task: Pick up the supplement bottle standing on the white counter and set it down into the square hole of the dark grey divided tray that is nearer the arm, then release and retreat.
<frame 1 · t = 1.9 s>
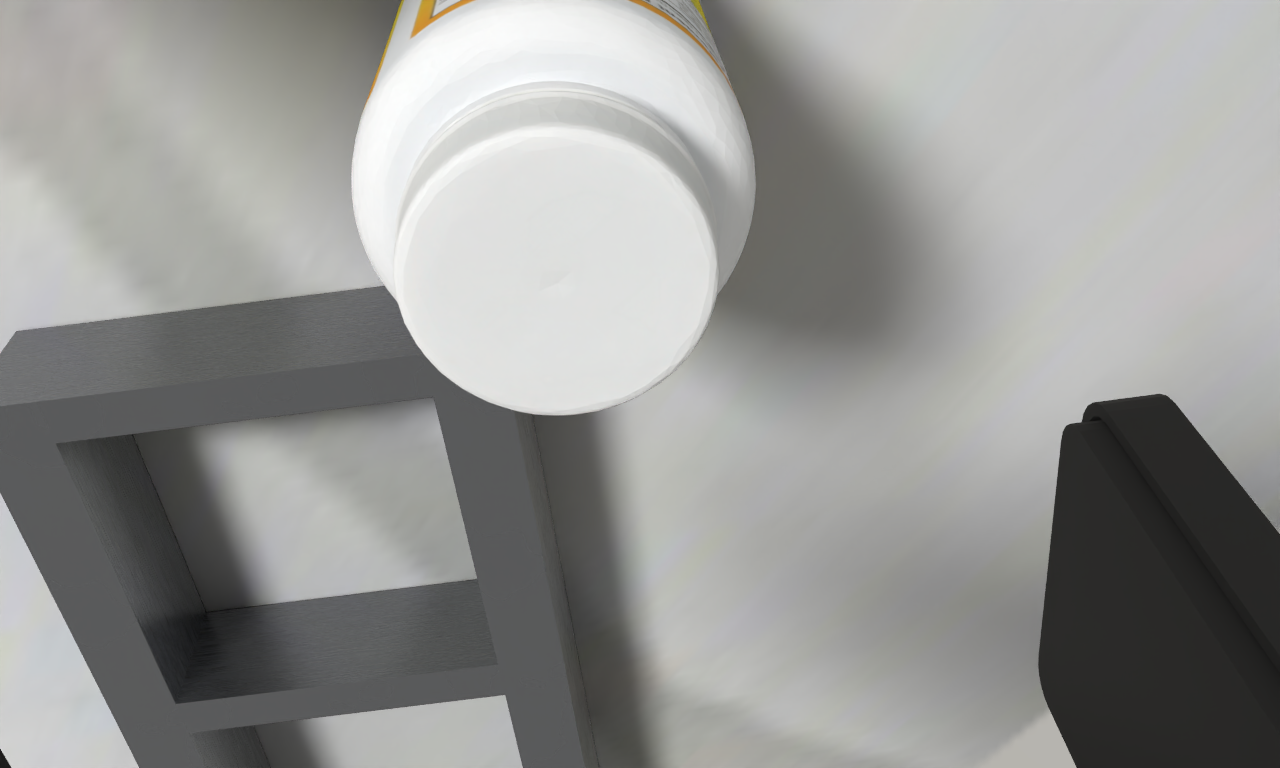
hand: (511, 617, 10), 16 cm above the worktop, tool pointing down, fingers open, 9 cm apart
supplement bottle: (553, 24, 23), on the worktop
dark grey divided tray: (358, 608, 31), on the worktop
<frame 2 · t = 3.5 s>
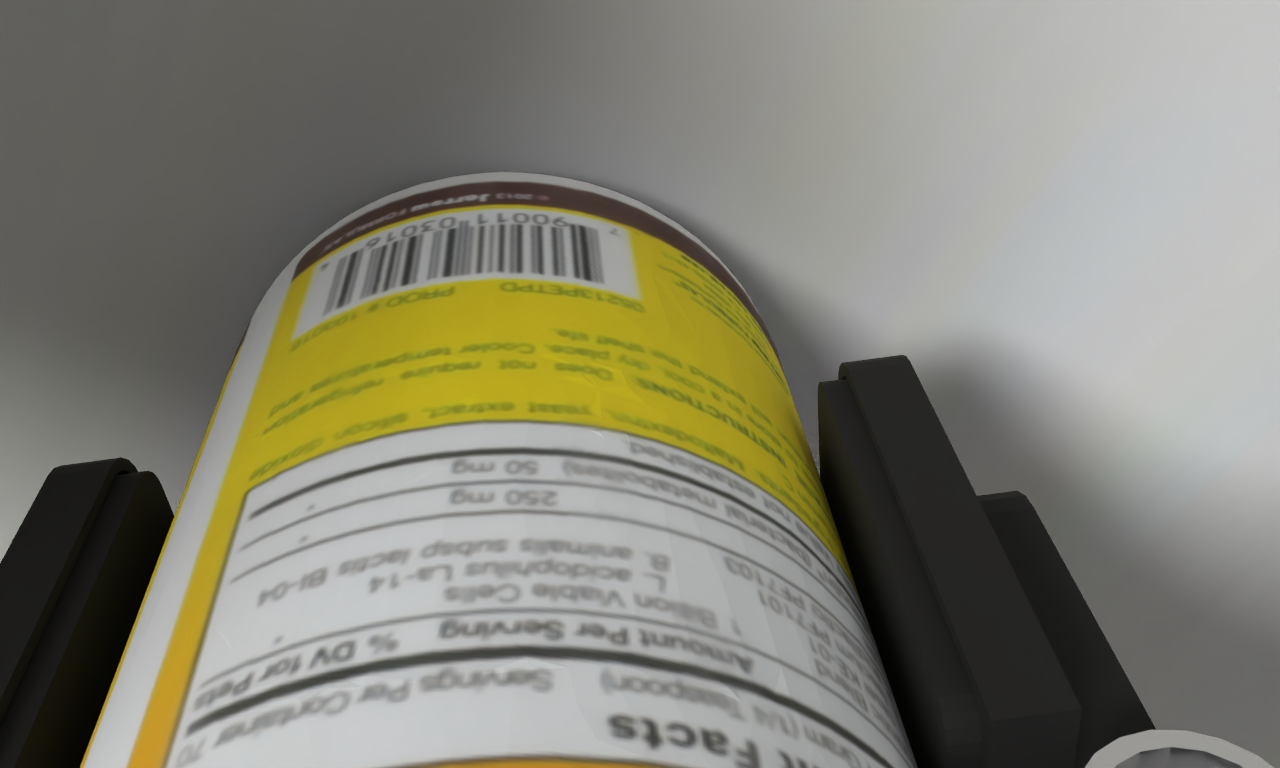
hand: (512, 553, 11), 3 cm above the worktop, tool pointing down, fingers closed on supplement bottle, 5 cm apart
supplement bottle: (516, 383, 13), on the worktop, touching gripper
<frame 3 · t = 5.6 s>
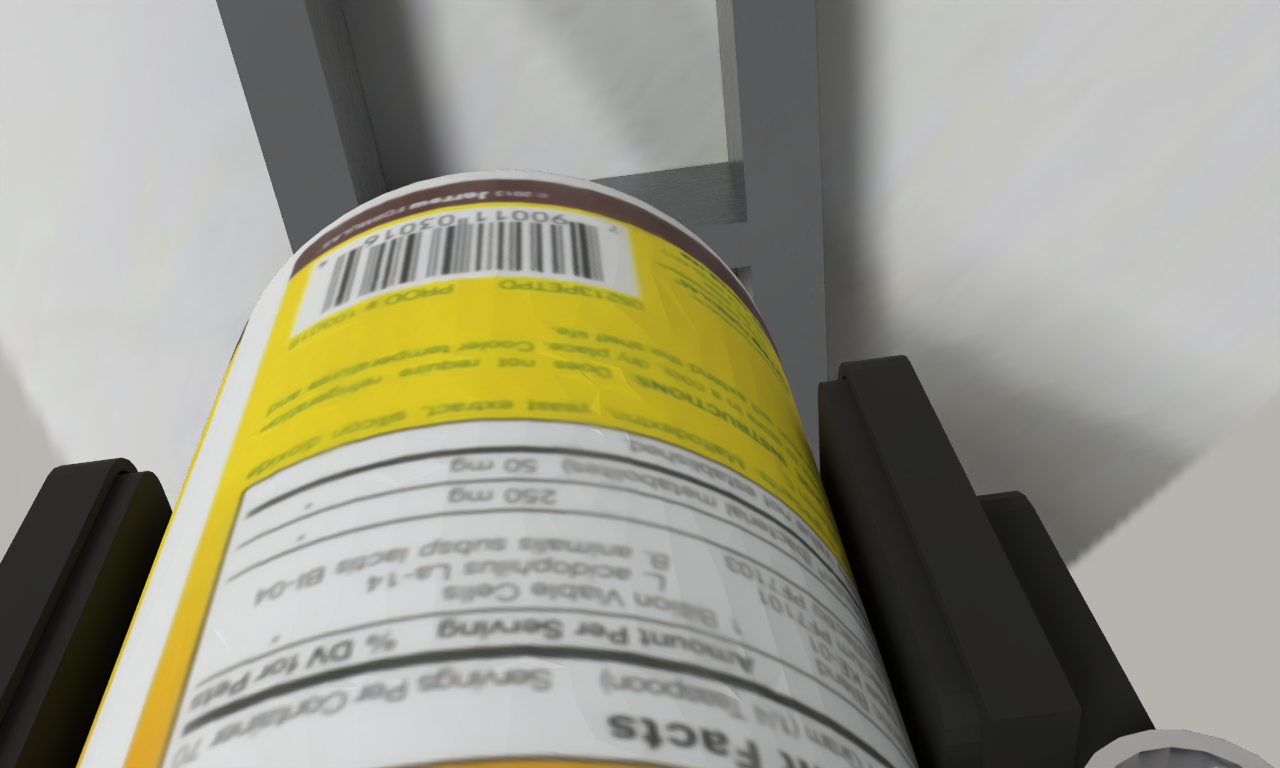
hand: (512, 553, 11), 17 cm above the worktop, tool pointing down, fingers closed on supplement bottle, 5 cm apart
supplement bottle: (515, 382, 13), point 14 cm above the worktop, touching gripper
dark grey divided tray: (563, 205, 27), on the worktop
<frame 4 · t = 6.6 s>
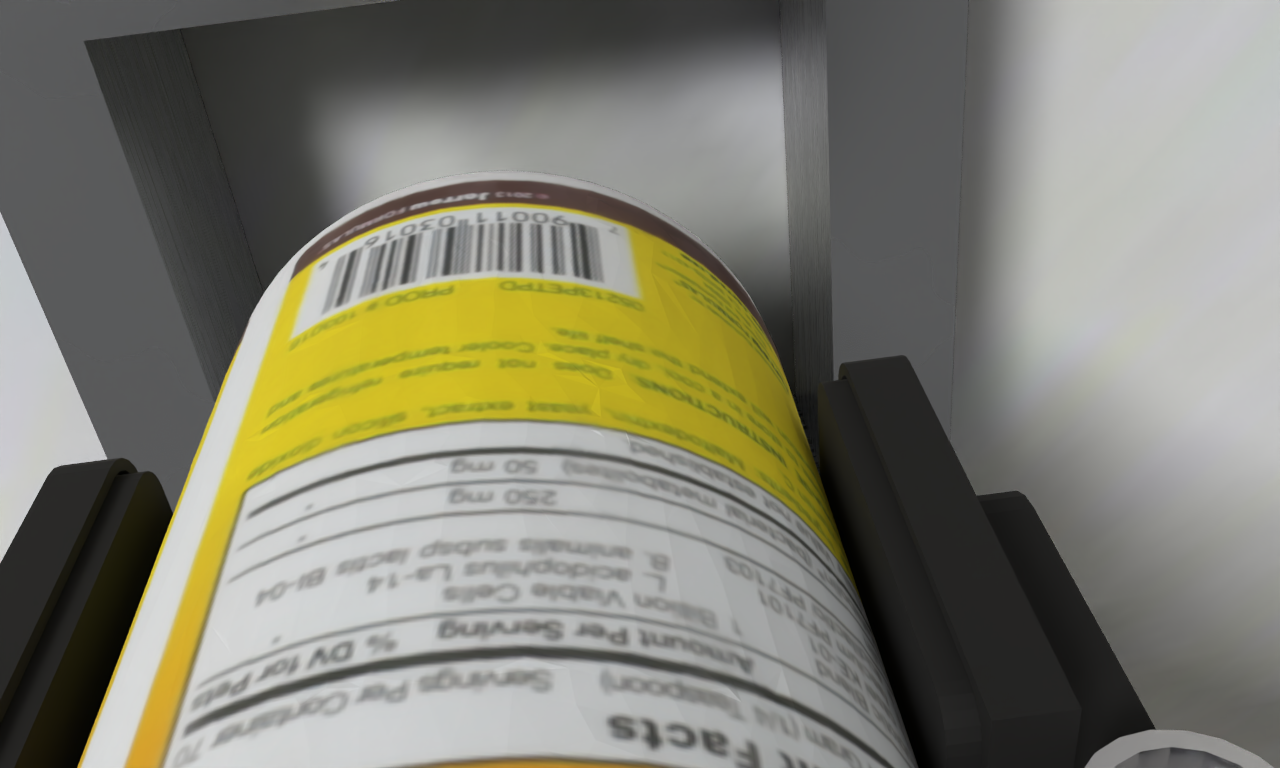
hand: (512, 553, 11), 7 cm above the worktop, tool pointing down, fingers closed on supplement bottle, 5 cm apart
supplement bottle: (516, 383, 13), point 5 cm above the worktop, touching gripper
dark grey divided tray: (560, 452, 19), on the worktop
when the fingers open (4 cm above the worktop, at t = 7.5 s): supplement bottle drops 2 cm, resting in dark grey divided tray.
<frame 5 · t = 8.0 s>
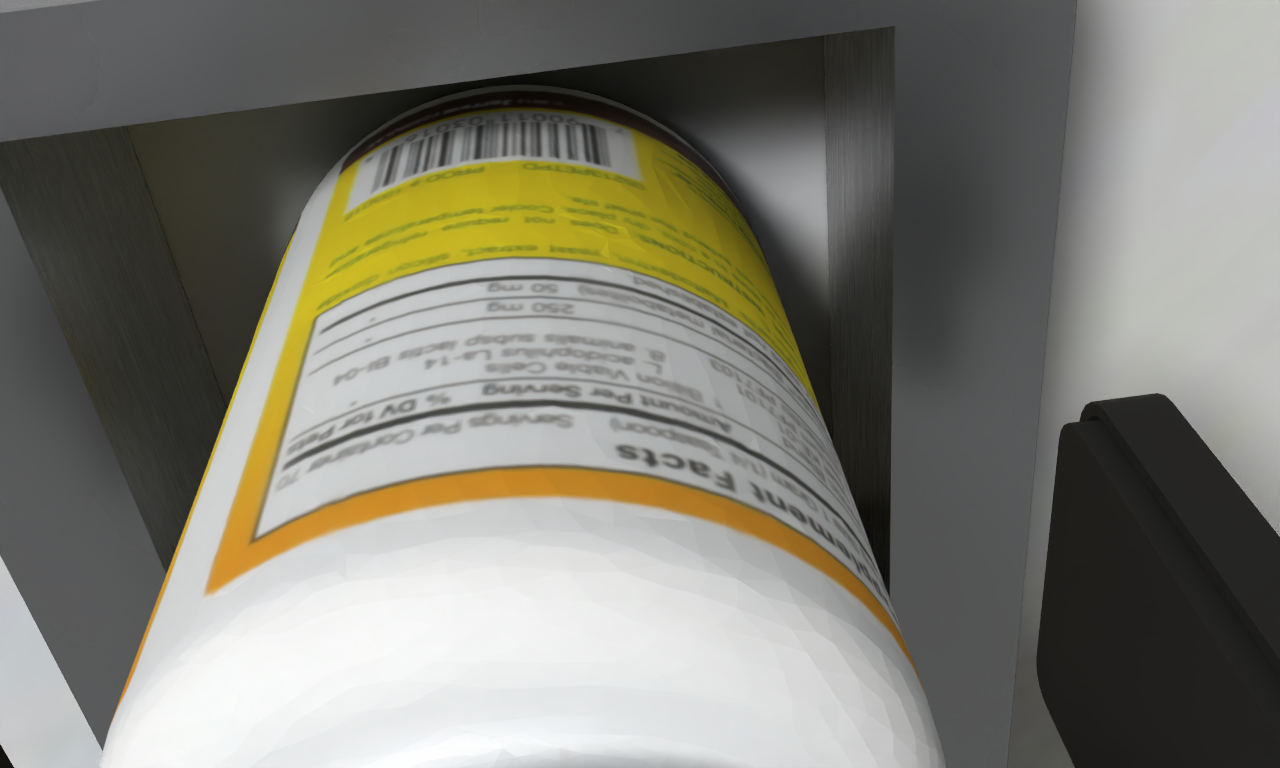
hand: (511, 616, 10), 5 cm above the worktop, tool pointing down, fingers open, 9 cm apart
supplement bottle: (531, 285, 15), resting in dark grey divided tray
dark grey divided tray: (566, 569, 17), on the worktop
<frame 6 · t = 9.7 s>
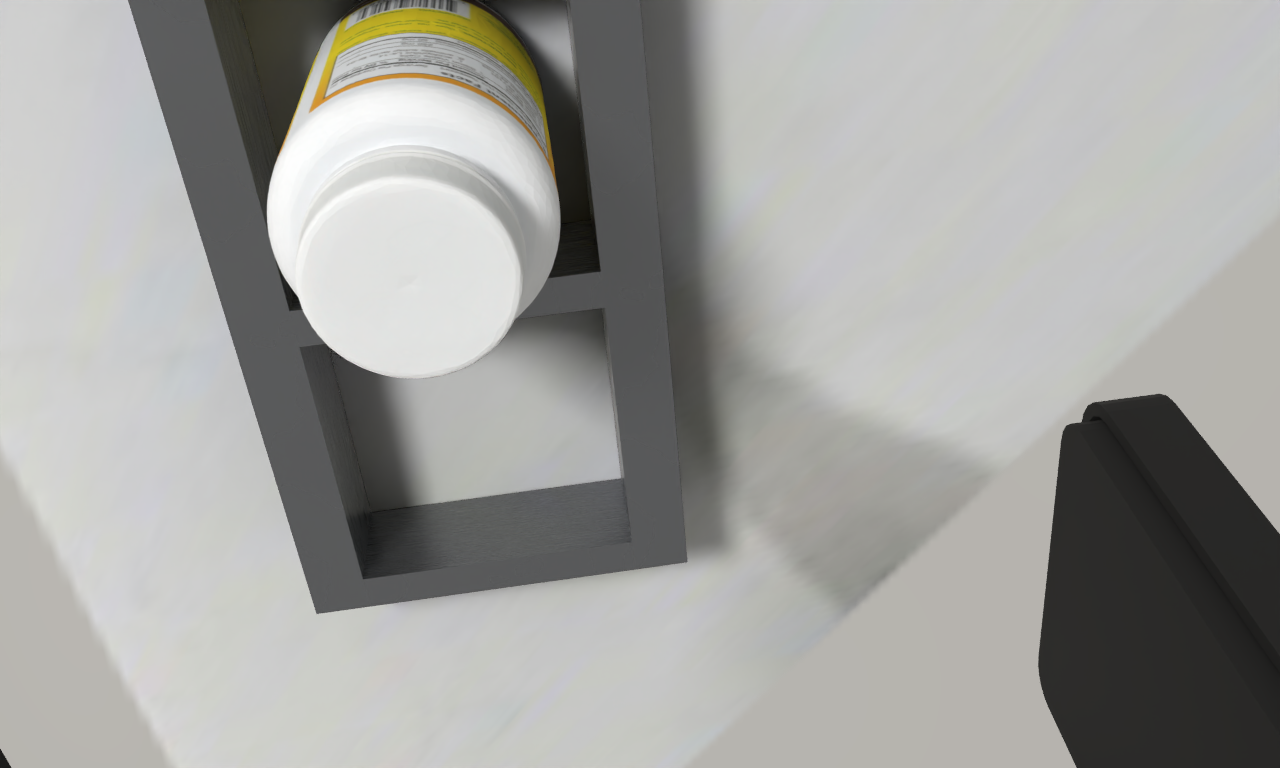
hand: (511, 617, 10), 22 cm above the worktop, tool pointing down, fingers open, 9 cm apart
supplement bottle: (430, 91, 30), resting in dark grey divided tray
dark grey divided tray: (451, 255, 32), on the worktop
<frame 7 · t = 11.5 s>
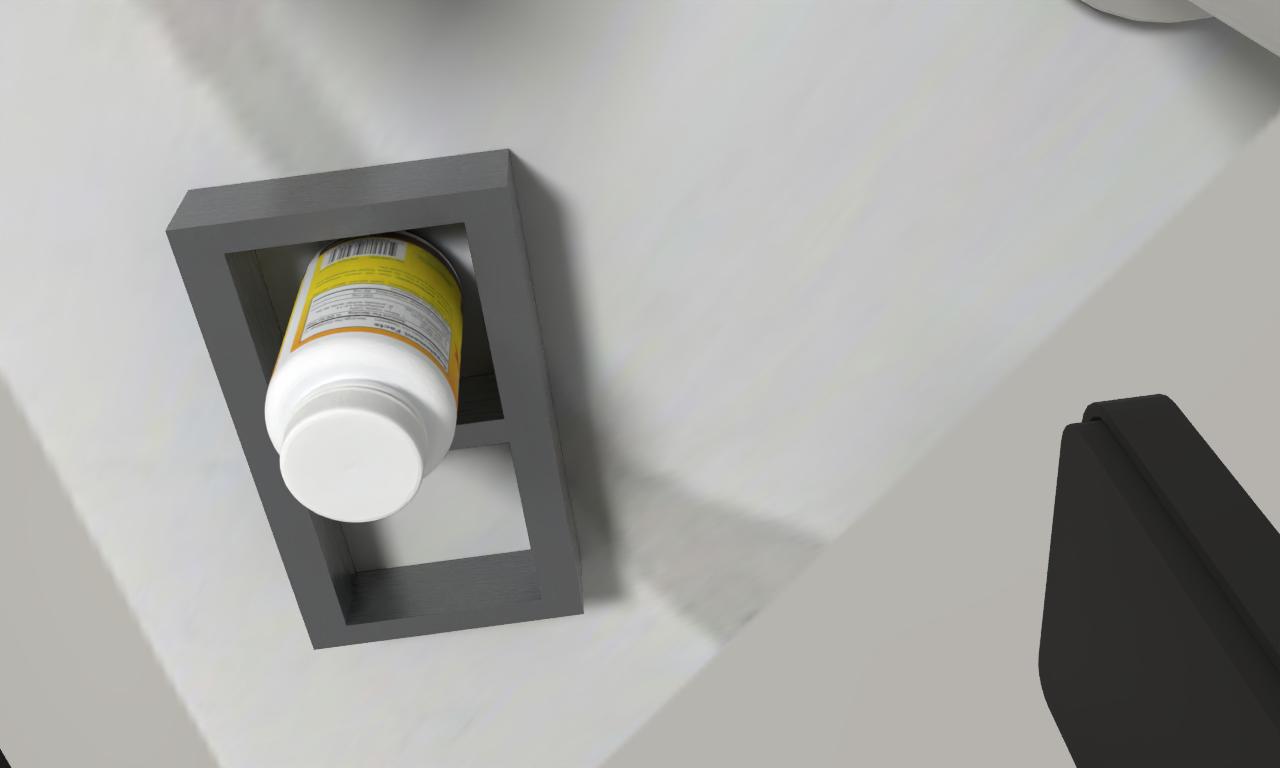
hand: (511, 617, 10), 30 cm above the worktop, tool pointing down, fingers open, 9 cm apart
supplement bottle: (386, 289, 42), resting in dark grey divided tray
dark grey divided tray: (406, 396, 45), on the worktop
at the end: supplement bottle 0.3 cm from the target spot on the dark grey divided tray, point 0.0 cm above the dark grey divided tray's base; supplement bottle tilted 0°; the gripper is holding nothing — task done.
